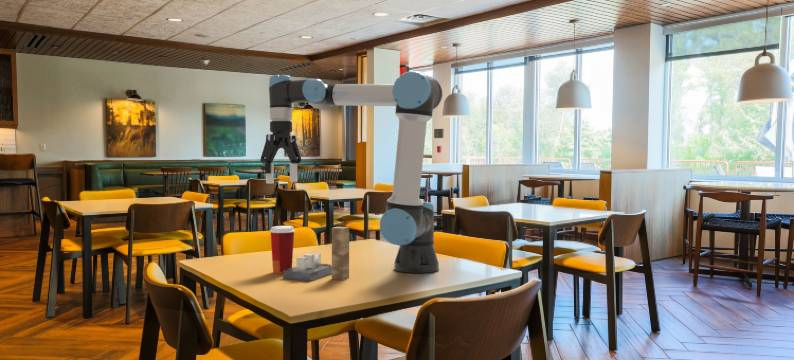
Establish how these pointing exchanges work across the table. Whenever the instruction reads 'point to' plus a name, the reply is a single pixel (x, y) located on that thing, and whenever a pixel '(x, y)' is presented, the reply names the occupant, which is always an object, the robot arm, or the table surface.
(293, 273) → the breaker board
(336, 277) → the mottled brown post
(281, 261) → the coffee cup
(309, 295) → the table surface
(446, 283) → the table surface
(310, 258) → the breaker paddle
